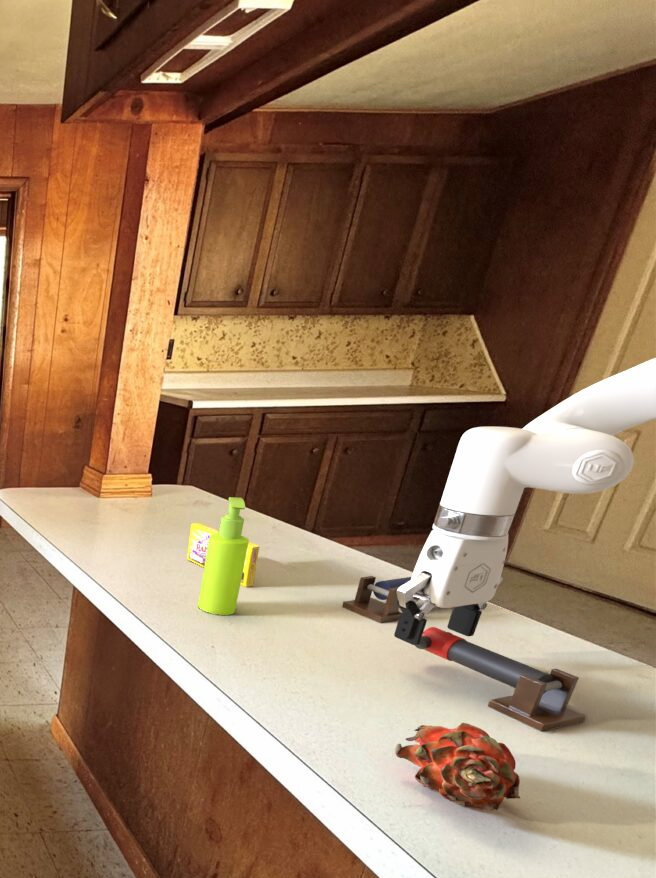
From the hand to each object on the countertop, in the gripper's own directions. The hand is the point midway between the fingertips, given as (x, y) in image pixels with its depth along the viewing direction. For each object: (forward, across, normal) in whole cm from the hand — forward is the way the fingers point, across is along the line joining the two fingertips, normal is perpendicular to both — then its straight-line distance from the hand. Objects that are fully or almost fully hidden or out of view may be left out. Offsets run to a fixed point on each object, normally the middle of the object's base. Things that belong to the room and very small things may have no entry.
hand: (433, 636), depth 94 cm
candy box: (+5, -1, +40) cm, 41 cm away
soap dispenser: (+5, -14, +25) cm, 29 cm away
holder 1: (+5, +10, +16) cm, 20 cm away
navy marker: (+2, +17, +16) cm, 24 cm away
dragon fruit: (+5, -25, -22) cm, 33 cm away
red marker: (+2, 0, -7) cm, 7 cm away
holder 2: (+4, 0, -14) cm, 14 cm away
